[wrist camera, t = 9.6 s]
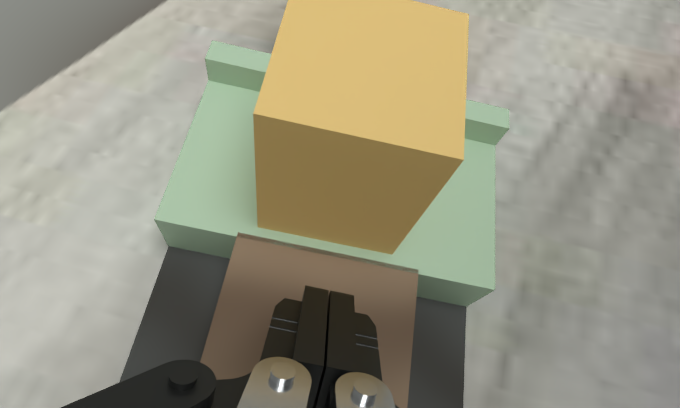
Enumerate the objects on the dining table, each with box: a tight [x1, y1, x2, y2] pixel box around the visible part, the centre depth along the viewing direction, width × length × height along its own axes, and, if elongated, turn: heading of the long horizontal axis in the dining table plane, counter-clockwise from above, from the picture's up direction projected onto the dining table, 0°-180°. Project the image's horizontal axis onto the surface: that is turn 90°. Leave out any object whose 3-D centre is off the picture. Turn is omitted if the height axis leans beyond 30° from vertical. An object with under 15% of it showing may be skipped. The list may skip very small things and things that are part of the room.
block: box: [253, 0, 469, 255], centre depth 17 cm, size 6×6×8 cm
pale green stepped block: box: [154, 40, 509, 306], centre depth 22 cm, size 9×15×5 cm, turn 81°
